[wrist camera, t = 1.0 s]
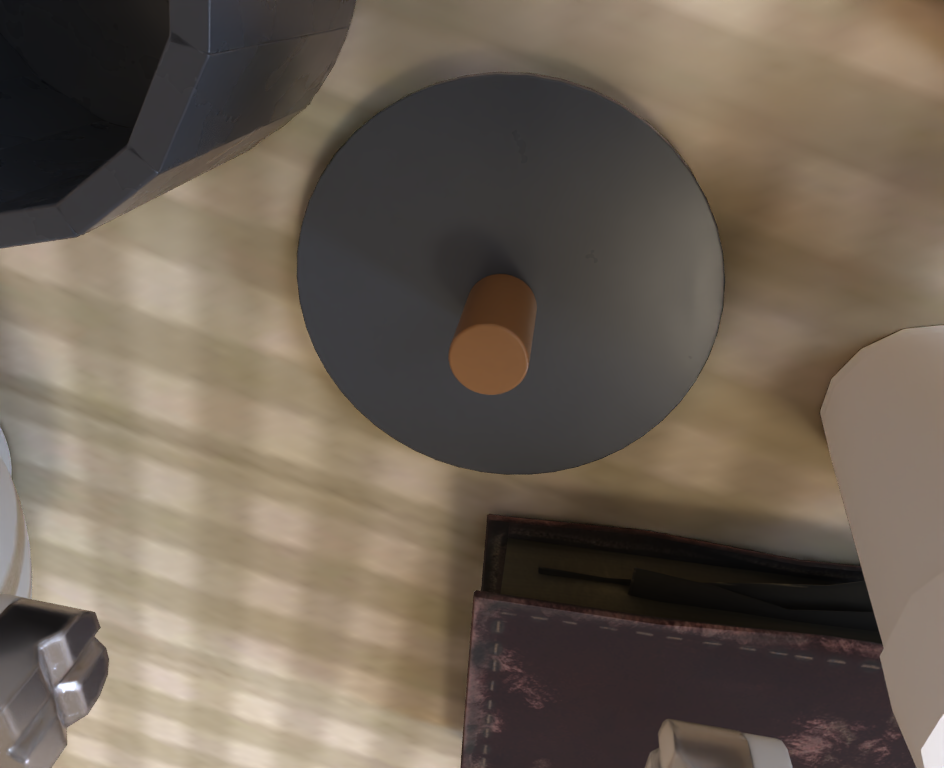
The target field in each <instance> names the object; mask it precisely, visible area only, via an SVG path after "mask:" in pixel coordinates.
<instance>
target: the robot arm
mask: <svg viewBox="0 0 944 768" xmlns="http://www.w3.org/2000/svg"><path fill="white" fill-rule="evenodd" d="M100 628H101V627H100V624H99V622H98V619H97V616H96V613H95V612H92V611H87V610H82V609H77V608H72V607H67V606H62V605H57V604H52V603H47V602H42V601H37V600H32V599H28V598H25V597H19V596H14V595H8V594H3V593H0V768H52V766H53V765H54V763H55V762H56V760H57V759H58V757H59V756H60V754H61V753H62V751H63V750H64V749H65V747H66V746H67V727H68V726H70V725H72V724H73V723H75V722H76V721H78V720H80V719H81V718H83V717H85V716H86V715H88V713H89V711H90V710H91V708H92V707H93V705H94V704H95V702H96V701H97V699H98V698H99V696H100V694H101V691H102V688H103V686H104V683H105V681H106V678H107V675H108V666H109V658H108V654H107V649H106V647H105V646H103V645H102V644H101V643H100V642H99V641H98V640H97V639H96V638H95V637H94V636H95V634H96V633H97V632H98V630H99V629H100ZM658 739H659V748H657V749H655V750H653V751H651V752H650V754H649V757H648V760H647V763H646V765H645V768H792V764H791V760H790V757H789V753H788V749H787V748H786V747H785V745H784V744H783V742H782V741H781V740H779V739H777V738H772V737H766V736H760V735H754V734H748V733H742V732H740V731H738V730H732V729H726V728H720V727H715V726H709V725H703V724H697V723H691V722H685V721H679V720H673V719H666V720H665V721H663V723H662V725H661V727H660V729H659V732H658Z"/></svg>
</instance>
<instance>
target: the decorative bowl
mask: <svg viewBox="0 0 944 768" xmlns="http://www.w3.org/2000/svg"><path fill="white" fill-rule="evenodd" d="M11 476H12V465H11V457H10V452H9V448H8V444H7V441H6V439H5V436H4V434H3V431H2V429H1V427H0V593H3V594H8V595H14V596H19V597H25V598H28V599H31V598H32V564H31V551H30V542H29V536H28V531H27V525H26V520H25V516H24V513H23V509H22V505H21V502H20V499H19V496H18V493H17V491H16V488H15V485H14V483H13V480H12V478H11Z"/></svg>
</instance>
